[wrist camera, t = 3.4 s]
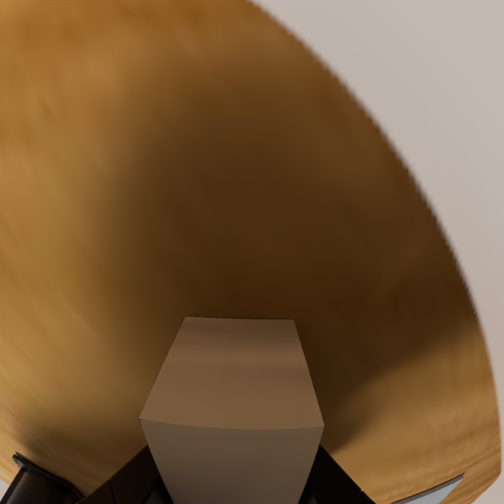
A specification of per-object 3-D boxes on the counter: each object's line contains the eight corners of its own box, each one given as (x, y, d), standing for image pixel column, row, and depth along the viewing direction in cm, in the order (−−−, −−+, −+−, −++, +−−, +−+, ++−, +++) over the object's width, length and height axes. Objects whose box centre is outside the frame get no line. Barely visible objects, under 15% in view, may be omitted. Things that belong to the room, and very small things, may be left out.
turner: (136, 312, 8) (67, 399, 4) (344, 318, 8) (404, 413, 4) (187, 505, 11) (179, 558, 7) (293, 508, 11) (299, 562, 7)
